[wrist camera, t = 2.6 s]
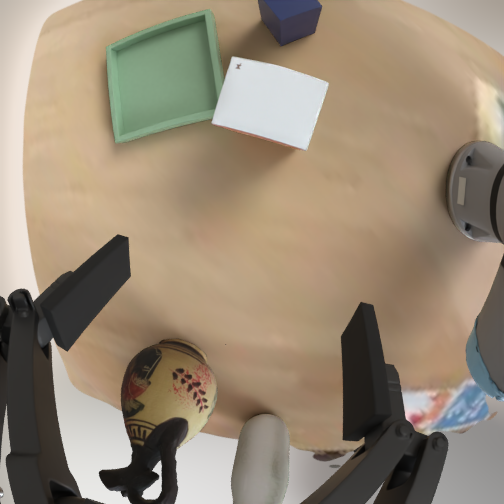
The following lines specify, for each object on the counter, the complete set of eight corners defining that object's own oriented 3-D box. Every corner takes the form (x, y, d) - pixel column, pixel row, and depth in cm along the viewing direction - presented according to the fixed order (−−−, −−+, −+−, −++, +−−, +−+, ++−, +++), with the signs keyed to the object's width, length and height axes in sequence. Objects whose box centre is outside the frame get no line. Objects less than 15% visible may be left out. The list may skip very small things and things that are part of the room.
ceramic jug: (169, 388, 50) (119, 510, 23) (130, 331, 46) (45, 460, 18) (246, 381, 47) (217, 534, 19) (211, 315, 42) (141, 497, 14)
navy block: (294, 7, 25) (296, -23, 17) (314, 33, 26) (322, 6, 18) (261, 19, 26) (255, -9, 18) (280, 46, 27) (280, 20, 20)
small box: (234, 132, 32) (208, 124, 20) (249, 86, 30) (230, 53, 18) (297, 151, 32) (307, 152, 20) (312, 104, 30) (330, 80, 18)
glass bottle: (280, 433, 53) (271, 540, 27) (237, 424, 53) (215, 533, 27) (297, 411, 49) (294, 535, 23) (249, 401, 49) (228, 529, 23)
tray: (214, 15, 26) (210, 8, 24) (230, 115, 31) (226, 113, 29) (114, 50, 28) (105, 46, 26) (123, 143, 34) (115, 143, 32)
